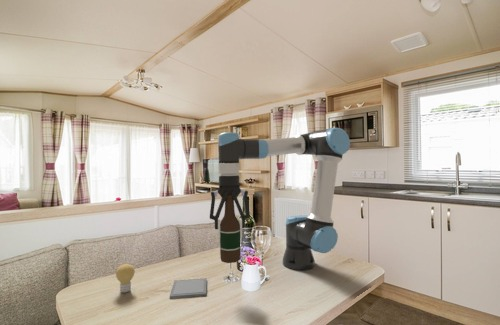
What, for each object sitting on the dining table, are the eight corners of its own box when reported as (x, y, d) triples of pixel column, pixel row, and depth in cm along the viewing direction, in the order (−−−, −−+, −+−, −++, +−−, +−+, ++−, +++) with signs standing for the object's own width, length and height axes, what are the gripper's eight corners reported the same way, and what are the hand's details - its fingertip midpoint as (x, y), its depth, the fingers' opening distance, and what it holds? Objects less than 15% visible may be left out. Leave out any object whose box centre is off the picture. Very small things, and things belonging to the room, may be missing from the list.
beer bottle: (238, 264, 92) (236, 195, 92) (216, 262, 93) (215, 195, 94) (243, 256, 100) (242, 193, 100) (223, 255, 101) (222, 192, 101)
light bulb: (131, 285, 105) (130, 260, 105) (137, 291, 100) (137, 264, 100) (113, 291, 100) (113, 264, 100) (119, 297, 96) (119, 269, 96)
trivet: (206, 280, 109) (206, 278, 109) (206, 295, 96) (206, 293, 96) (174, 282, 107) (174, 280, 107) (169, 298, 94) (169, 295, 94)
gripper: (254, 174, 102) (255, 233, 102) (201, 175, 99) (202, 236, 99) (257, 174, 94) (258, 238, 94) (200, 176, 91) (201, 241, 91)
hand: (230, 237), depth 97 cm, fingers closed on beer bottle, 7 cm apart
